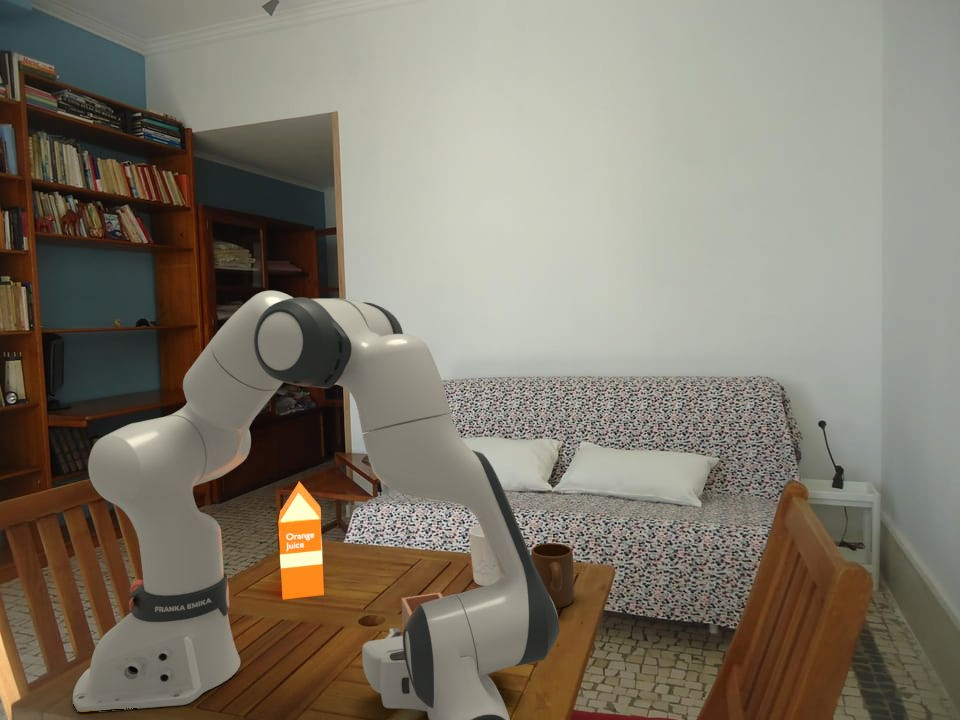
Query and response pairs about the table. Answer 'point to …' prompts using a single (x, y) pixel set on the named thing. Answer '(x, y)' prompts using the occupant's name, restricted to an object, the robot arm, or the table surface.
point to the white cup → (482, 558)
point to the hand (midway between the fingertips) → (425, 627)
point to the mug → (555, 571)
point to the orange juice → (301, 546)
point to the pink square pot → (415, 604)
